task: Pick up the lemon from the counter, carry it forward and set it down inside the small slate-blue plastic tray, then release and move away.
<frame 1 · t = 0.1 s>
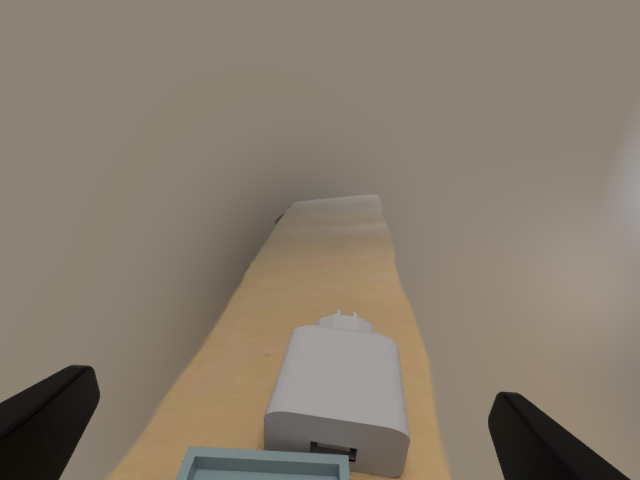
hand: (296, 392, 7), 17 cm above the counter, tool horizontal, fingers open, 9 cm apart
charger: (339, 385, 29), on the counter
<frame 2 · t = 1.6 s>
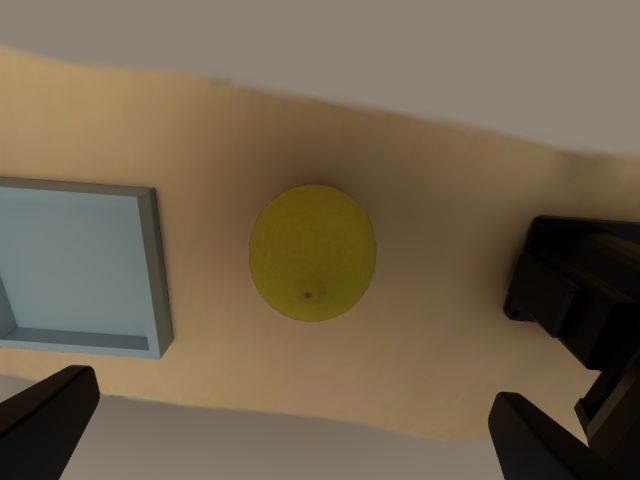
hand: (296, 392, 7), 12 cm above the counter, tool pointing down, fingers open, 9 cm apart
lemon: (316, 218, 19), on the counter
tray: (80, 265, 20), on the counter
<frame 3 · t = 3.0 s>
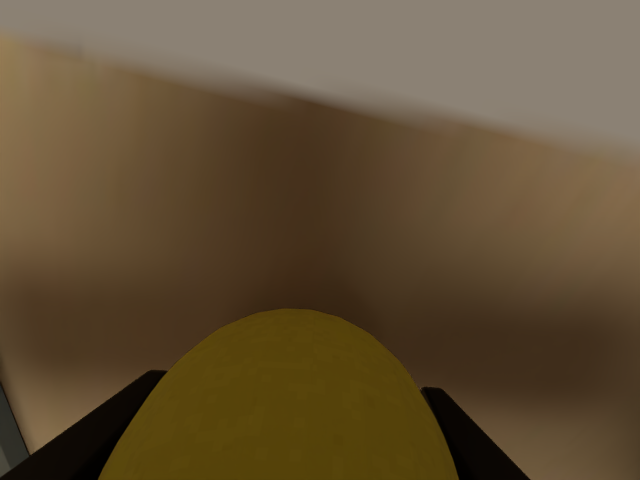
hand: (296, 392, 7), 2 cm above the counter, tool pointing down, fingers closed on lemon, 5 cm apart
lemon: (301, 333, 9), on the counter, touching gripper
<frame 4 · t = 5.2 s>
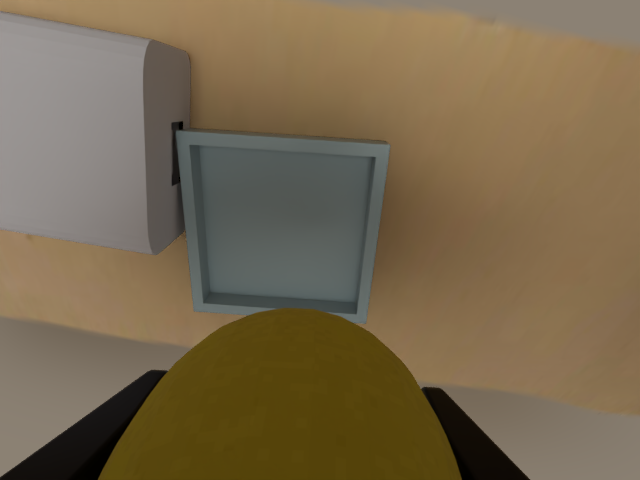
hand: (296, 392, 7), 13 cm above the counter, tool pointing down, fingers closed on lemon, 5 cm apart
charger: (55, 124, 18), on the counter
lemon: (302, 333, 9), point 11 cm above the counter, touching gripper
tray: (285, 226, 19), on the counter
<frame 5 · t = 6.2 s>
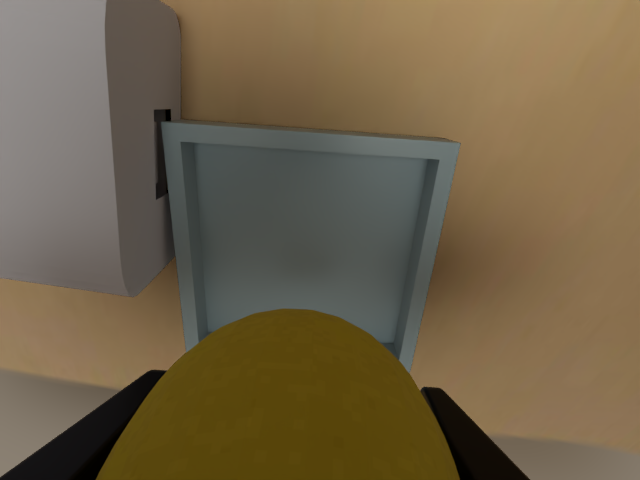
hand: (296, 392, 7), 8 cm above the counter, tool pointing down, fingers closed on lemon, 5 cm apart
lemon: (301, 333, 9), point 6 cm above the counter, touching gripper
tray: (306, 248, 15), on the counter
when the fingers open (4 cm above the counter, at t = 7.3 s): lemon drops 1 cm, resting on tray.
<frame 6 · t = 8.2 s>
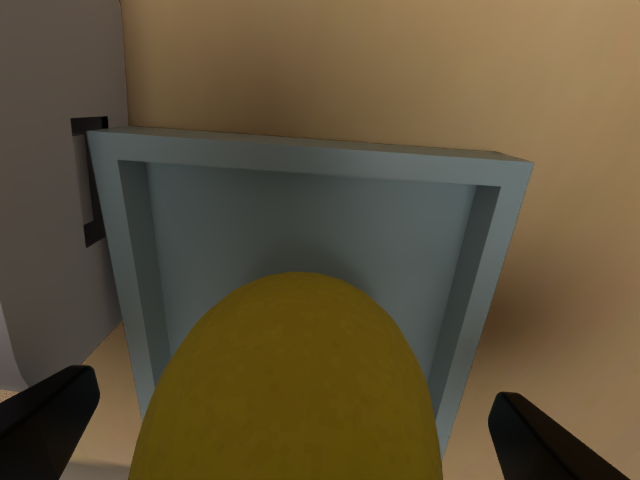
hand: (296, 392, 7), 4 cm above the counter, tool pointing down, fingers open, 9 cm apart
lemon: (306, 302, 11), resting on tray
tray: (305, 296, 11), on the counter
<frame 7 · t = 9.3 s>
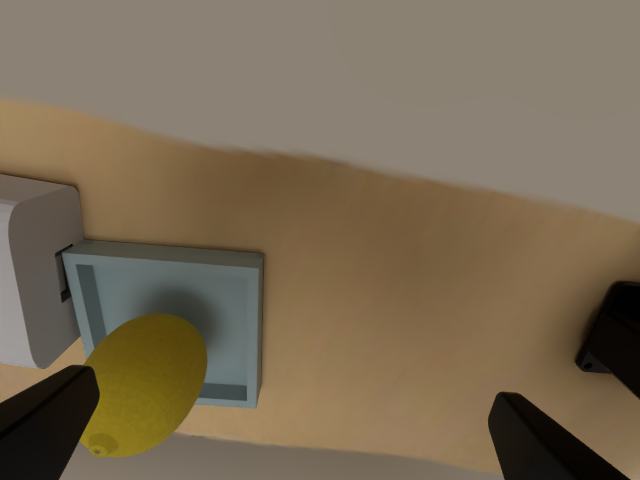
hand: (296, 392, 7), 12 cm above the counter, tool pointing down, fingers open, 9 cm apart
lemon: (179, 323, 21), resting on tray
tray: (181, 320, 21), on the counter
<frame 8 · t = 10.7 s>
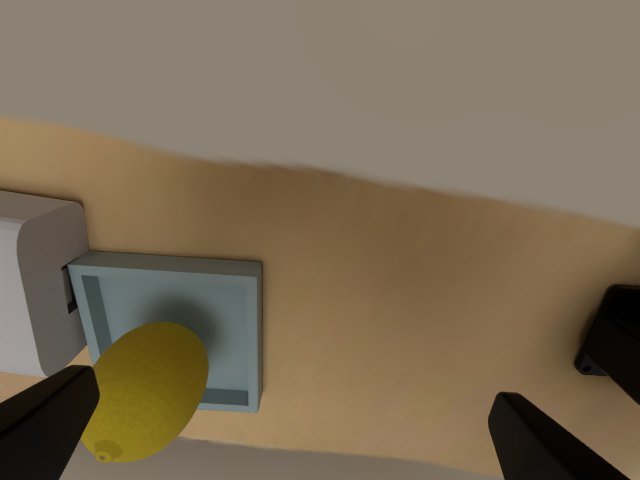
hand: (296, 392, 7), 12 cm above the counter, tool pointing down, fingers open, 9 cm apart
lemon: (182, 331, 21), resting on tray
tray: (184, 327, 21), on the counter
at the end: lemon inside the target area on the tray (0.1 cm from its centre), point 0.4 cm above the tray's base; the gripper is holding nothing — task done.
